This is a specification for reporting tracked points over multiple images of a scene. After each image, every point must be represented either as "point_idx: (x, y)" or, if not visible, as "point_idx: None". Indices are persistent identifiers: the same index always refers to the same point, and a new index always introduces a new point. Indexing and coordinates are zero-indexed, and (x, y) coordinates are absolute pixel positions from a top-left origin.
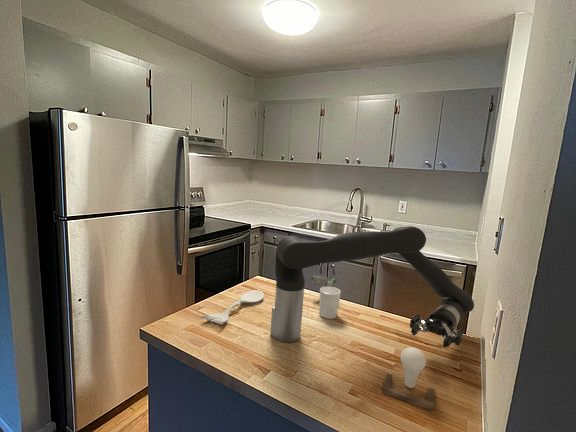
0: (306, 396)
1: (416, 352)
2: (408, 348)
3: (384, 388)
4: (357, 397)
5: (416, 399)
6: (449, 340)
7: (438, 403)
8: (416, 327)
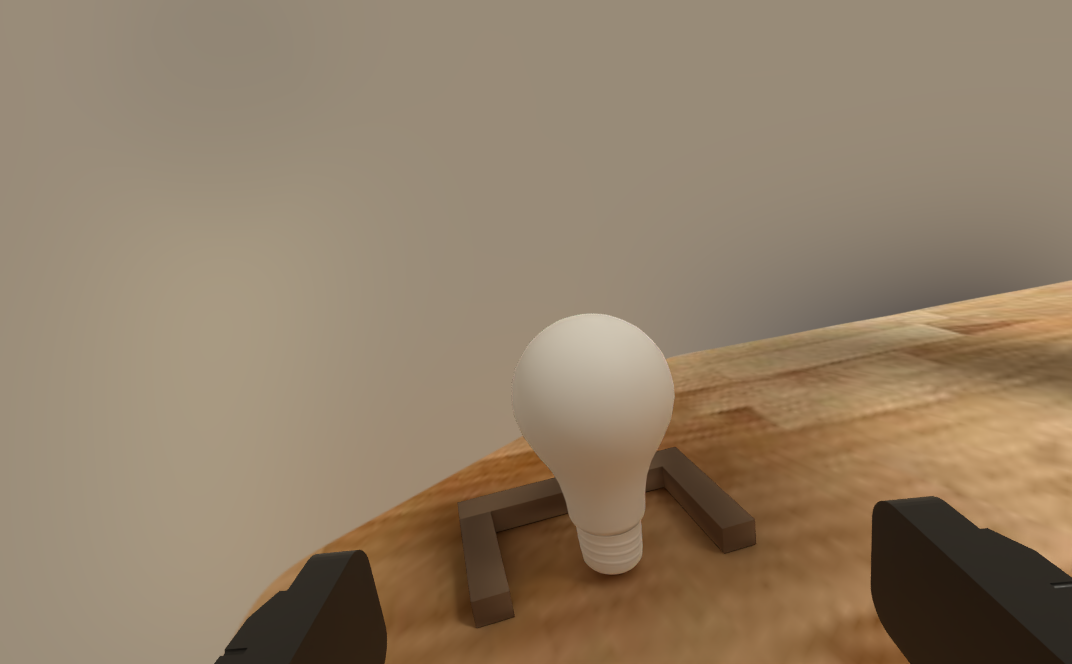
0: (793, 353)
1: (560, 320)
2: (621, 320)
3: (669, 449)
4: (711, 412)
5: (533, 486)
6: (234, 662)
7: (443, 578)
8: (954, 551)
